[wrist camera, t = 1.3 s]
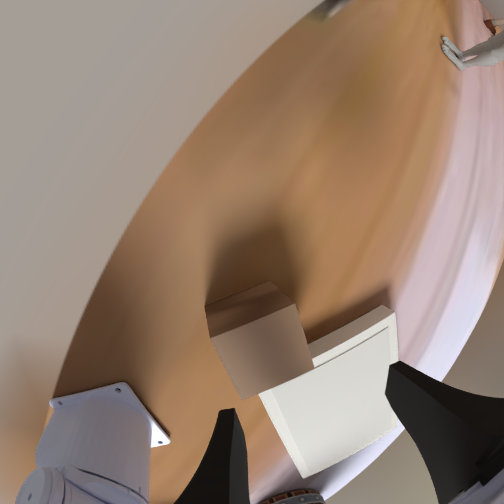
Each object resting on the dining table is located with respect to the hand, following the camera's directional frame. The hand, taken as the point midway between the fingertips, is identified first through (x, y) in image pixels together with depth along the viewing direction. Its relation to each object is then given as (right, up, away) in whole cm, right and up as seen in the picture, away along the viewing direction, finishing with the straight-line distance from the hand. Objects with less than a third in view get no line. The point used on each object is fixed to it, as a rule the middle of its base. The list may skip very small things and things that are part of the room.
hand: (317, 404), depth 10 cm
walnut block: (-3, +1, +9) cm, 10 cm away
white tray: (+6, -9, +13) cm, 17 cm away
